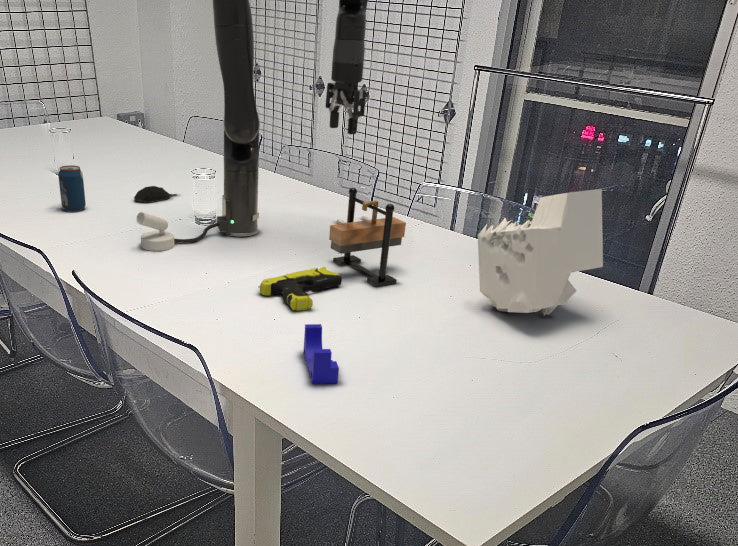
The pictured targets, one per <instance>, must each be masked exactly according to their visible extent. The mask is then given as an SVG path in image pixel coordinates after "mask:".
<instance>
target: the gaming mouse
mask: <svg viewBox="0 0 738 546" xmlns="http://www.w3.org/2000/svg"><path fill="white" fill-rule="evenodd" d="M173 196H177V193H170V192H168V191H166V189H165V188H164V187H160V186H156V185H149V186H145V187H143V188H141V189H140V190H138V191H137V192H136V193H135V195H134V196H133V199H134V201H136V202H140V203H154V202H159V201H164V200H165V201H166V200H169V199H170V198H171V197H173Z"/></svg>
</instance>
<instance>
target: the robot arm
mask: <svg viewBox="0 0 738 546" xmlns="http://www.w3.org/2000/svg"><path fill="white" fill-rule="evenodd" d="M367 9H368V0H338V12H337V15H336V21H335V30H334V31H335V32H334V33H335V34H334V43H333V48H332V61H331V78H330V80H331V81H332V82H327V85H326V96H325V105H324V106H325V109H328V112H329V128H330V129H337V128H339V124H340V110H341V108H342V107H344V109H345V110H346V111H347V114H348V119H347V121H348V122H347V133H346V134H348V135H357V131H358V121H359V118H361V117H364V116H365V112H366V111H365V109H366V89H359V88H358V85H359V83H361V82H362V81H363V74H364V64H365V53H366V45H365V39H366V26H367ZM212 11H213V12H212V13H213V25H214V26H213V28H214V37H215V38H214V39H215V47H216V52H217V58H218V59H217V60H218V64H219V69H220V75H221V78H222V84H223V85H222V86H223V100H224V101H223V102H224V105H223V107H224V108H223V109H224V111H223V194H222V195H221V199H222V200H221V204H222V205H221V207H222V211H221V213H222V215H217V216H216V222H215V223H212V224H210V225H207V226H206V227H205V228H204V229H203V231H202V233H200V234H199V235H198V236H196V237H193V238H174V243H178V244H190V243H197V242H198V241H199V242H200V240H202V239H203V238H204V237H205V236H206V235H207V233H208V231H210V230H211V229H214V228H217V229H218V232H219V233H220V232H221V233H222V232H223V233H224V235H225V236H226V237H227V236H230V237H231V236H232V237H238V238H239V237H240V238H243V237H244V238H245V237H252V236H255V235H257V234H258V230H259V228H258V219H260V213H259V212H258V211H259V165H260V127H261V121H260V115H259V112H258V109H257V103H256V96H255V89H254V66H255V64H254V63H255V39H254V38H255V37H254V25H253V14H252V8H251V4H250V0H212Z"/></svg>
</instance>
